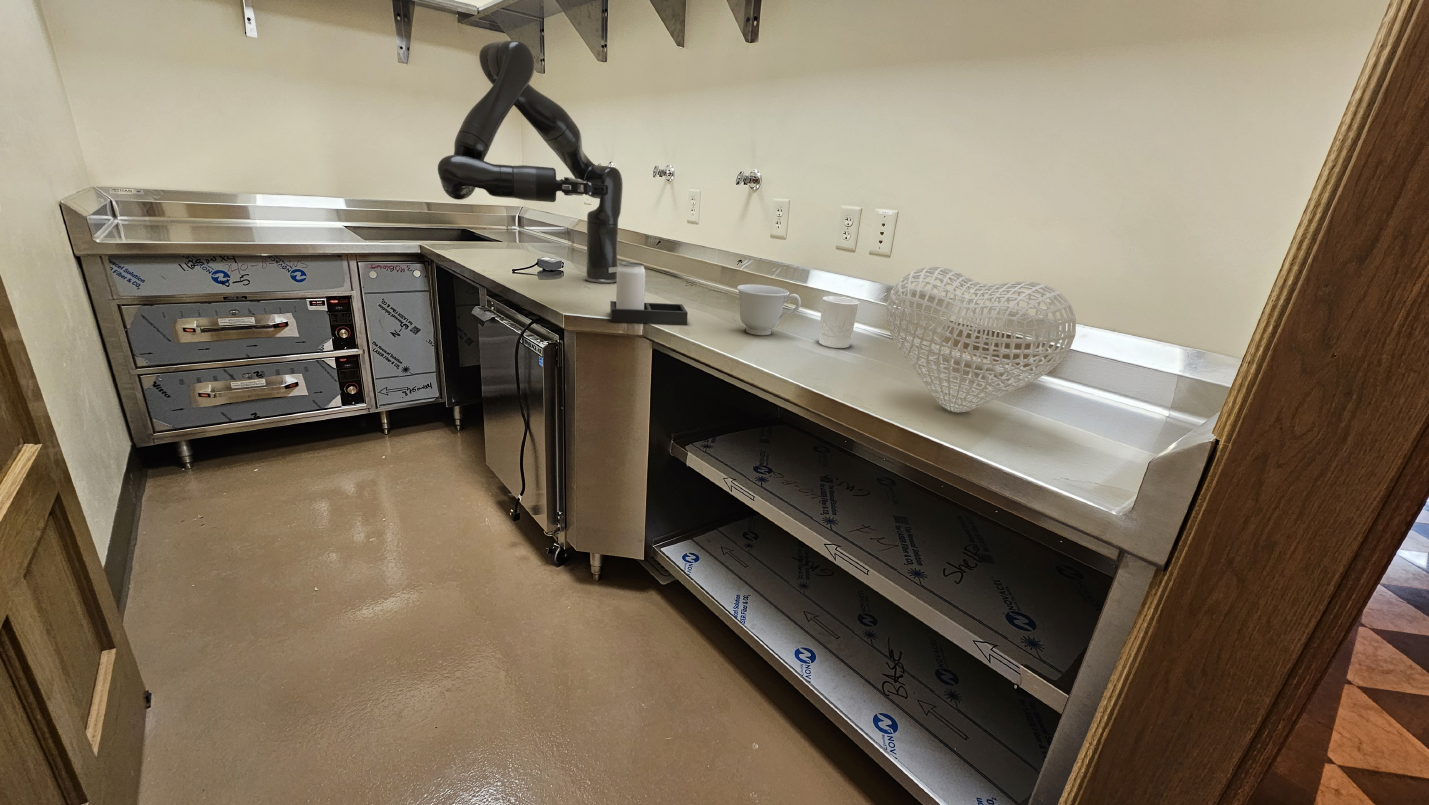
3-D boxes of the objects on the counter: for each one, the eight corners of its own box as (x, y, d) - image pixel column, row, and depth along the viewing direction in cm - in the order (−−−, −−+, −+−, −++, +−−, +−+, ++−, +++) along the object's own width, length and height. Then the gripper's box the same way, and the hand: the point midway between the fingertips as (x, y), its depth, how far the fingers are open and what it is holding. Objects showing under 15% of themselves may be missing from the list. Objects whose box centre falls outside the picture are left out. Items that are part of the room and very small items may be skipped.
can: (612, 312, 144) (613, 261, 140) (638, 312, 147) (640, 261, 143) (620, 318, 139) (622, 265, 135) (647, 318, 142) (649, 266, 137)
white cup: (858, 346, 136) (865, 301, 133) (839, 351, 130) (846, 304, 127) (828, 338, 141) (835, 295, 137) (809, 342, 135) (815, 298, 132)
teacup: (790, 344, 133) (796, 298, 129) (725, 333, 137) (729, 289, 133) (801, 333, 144) (806, 290, 140) (740, 323, 148) (745, 282, 144)
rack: (610, 313, 146) (610, 300, 145) (681, 316, 150) (682, 304, 149) (611, 322, 138) (611, 309, 137) (686, 324, 142) (687, 312, 141)
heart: (1058, 427, 96) (1100, 287, 88) (1026, 452, 85) (1071, 295, 78) (897, 380, 114) (920, 259, 106) (853, 395, 103) (876, 262, 95)
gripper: (534, 166, 131) (609, 172, 136) (533, 165, 144) (603, 171, 149) (534, 202, 134) (609, 207, 138) (534, 199, 147) (602, 204, 151)
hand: (605, 189), depth 143 cm, fingers open, 8 cm apart
